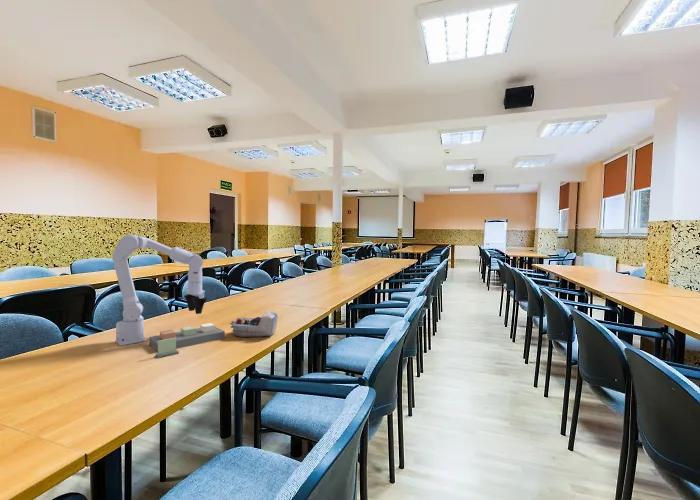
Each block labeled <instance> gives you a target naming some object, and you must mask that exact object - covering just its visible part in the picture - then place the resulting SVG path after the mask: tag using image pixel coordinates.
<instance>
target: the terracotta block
mask: <svg viewBox="0 0 700 500" xmlns="http://www.w3.org/2000/svg"><path fill="white" fill-rule="evenodd" d="M175 332H176V331H175V330H173V329H169V330H162V331H159V335H160V338H161V339H162V340H166V339H171V338H175Z"/></svg>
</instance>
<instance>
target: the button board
mask: <svg viewBox="0 0 700 500" xmlns="http://www.w3.org/2000/svg"><path fill="white" fill-rule="evenodd" d="M174 332H175V338H176V349H179V348H185V347H189V346H194V345H198V344H199V345H200V344H204V343H210V342H213V341H214V342H215V341H219V340H223V339H225V338H226V331H225V330H222V329H220V328H218V327H216V326H215V331H212V332H207V333H203V332H201V331H200V327H198V328H196V335H191V336H186V337H184V336H182V335H181V330H180V331H174ZM148 340H149V342H148V343H149V344H148V345H149V346H150V347H152V348H153V349H154V350H155V351H156V352H158V341H160V340H162V339H161V338H160V334H159V335H152V336H149V338H148Z"/></svg>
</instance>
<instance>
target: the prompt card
mask: <svg viewBox="0 0 700 500" xmlns="http://www.w3.org/2000/svg"><path fill="white" fill-rule="evenodd" d="M174 355H179V351H178V350H177V348H176V338H171V339H166V340H160V341H158V351H157V353H155V357H156V358H157V359H161V358H165V357H170V356H174Z"/></svg>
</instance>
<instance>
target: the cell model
mask: <svg viewBox="0 0 700 500" xmlns="http://www.w3.org/2000/svg"><path fill="white" fill-rule="evenodd" d="M229 325H231V326H230V328H231V329H232V330H231V331H232V332H233V333H234V336H235V337H238V338H251V337H255V338H259V337H261V338H262V337H266V336H267V337H272V336H273V334H274V333H275V332H276V330H277V325H278V314H277V313H276V312H274V311H273V310H269V309H267V310H266V311H265V312H264V314H263V315H262V316H261V317H260V316H256V317H254V318H253V317H247V316H246V317H245V316H242V317H237V318H236V319H235V320H232V321H231V322H229Z"/></svg>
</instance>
